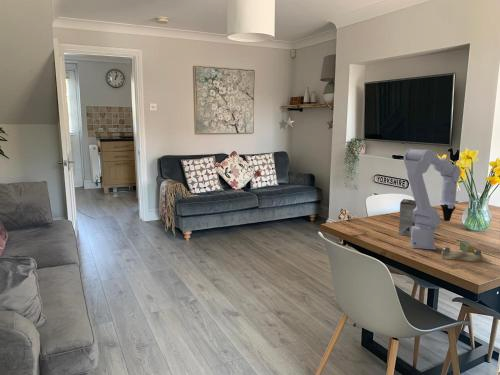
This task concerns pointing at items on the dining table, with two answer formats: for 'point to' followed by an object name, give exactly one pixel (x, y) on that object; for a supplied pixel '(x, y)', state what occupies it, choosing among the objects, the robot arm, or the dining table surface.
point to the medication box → (467, 247)
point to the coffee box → (406, 216)
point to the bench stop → (461, 256)
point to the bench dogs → (447, 250)
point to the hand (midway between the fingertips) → (446, 220)
